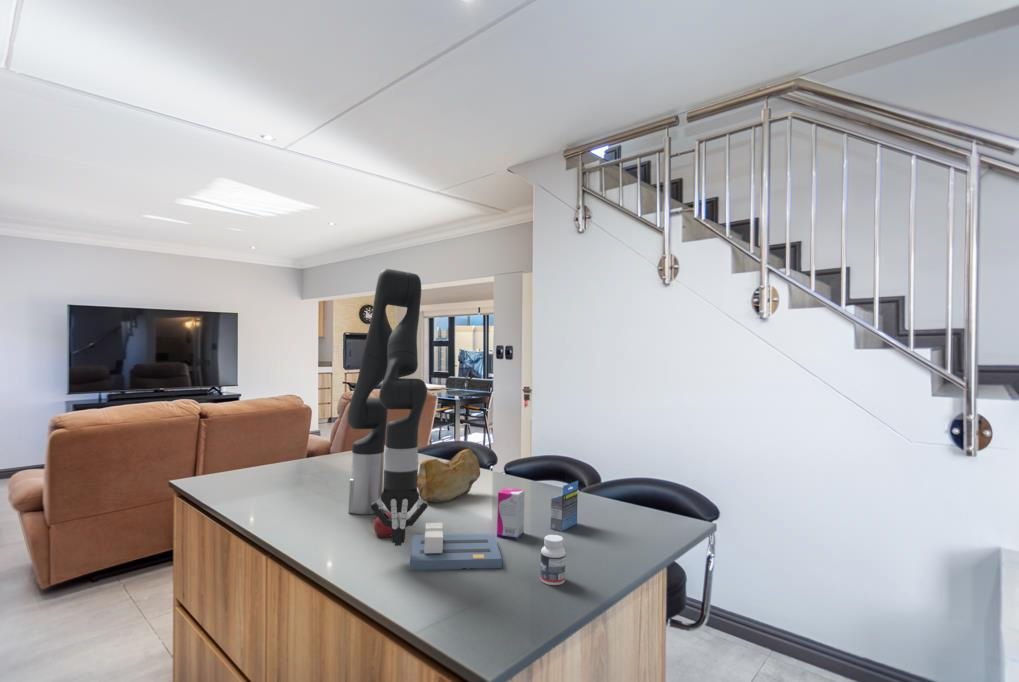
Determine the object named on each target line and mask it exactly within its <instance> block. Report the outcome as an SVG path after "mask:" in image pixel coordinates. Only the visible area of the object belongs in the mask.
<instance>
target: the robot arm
mask: <svg viewBox="0 0 1019 682" xmlns="http://www.w3.org/2000/svg"><path fill="white" fill-rule="evenodd" d="M375 288H376V289H375V293H374V300H373V306H372V311H371V319H370V323H369V327H368V330H367V331H368V332H367V335H366V338H365V344H364V346H363V352H362V355H361V361H360V367H359V372H358V376H357V380H356V384H355V387H354V390H353V393H352V396H351V400H350V403H349V406H348V410H347V423H348V426H349V427H350V428H351V429H355V430H371V431H370V433H368V434H367V435H366V436H364V437H363V438H360V439H357V440H355V441H354V442H353V443H352V448H351V449H352V450H351V452H352V453H351V473H350V474H351V475H350V479H349V487H348V488H349V489H348V491H349V492H348V511H347V513H348V514H356V515H372V514H373V515H376V517H378V518H379V519H380V520H381V522H382V523H383V524H384V525H385V526H386V527H387V526H388V527H391V528H392V536H391V543H392V544H394V546H395V547H398V546H399V547H401V546H403V545H402V544H404V543H405V540H406V529H407V528H408V527H412V526H413V525H414V524H416V522H417V520H419V518H420V517H421V516H422V515H423V513H424V512H425V511H426V510H427V508H428V501H425V500H423V499H421V498H420V495H419V490H418V487H417V480H418V474H419V451H418V440H419V439H418V437H419V425H420V420H421V416H422V412H423V410H424V407H425V404H426V400H427V397H428V387H427V385H426V383H425V382H424V380H423V379H421V378H404V377H408V376H411V375H413V374H415V373H416V372H417V370H418V366H419V364H418V362H419V361H418V359H419V358H418V327H419V320H420V311H421V310H420V309H421V299H422V298H421V297H422V280H421V278H420V276H419V275H418V274H416V273H413V272H407V271H402V270H396V269H391V268H383V269H382V270H381V271H380V273H379V275H378V278H377V283H376V287H375ZM387 306H393V307H401V308H406V313H405V315H404V316H403V318H402V319H401V320H400V322H399V323H398V324H397V325H396V327H395V328H394V329H392V327H391V324H390V321H389V319H388V315H387V310H386V309H387ZM380 384H381V386H380V390H379V393H378V396H379V397H369V396H370V395H371V393H372V392H373V391H374V390H375V388H377V387H378V386H379V385H380ZM388 410H410V411H409V412H408V414H407V416H404V417H403V418H398V419H393V420H390V421H389V422H388ZM387 422H388V423H387ZM415 505H416V509H415V511H414V512H413V513H412V514H411V516H410V517H409V518H408V517H407V515H408V513H409V512H410V511H411V510H412V509H413V507H414V506H415ZM384 506H385V507H386V509H387V511H389V513H391V517H392V520H391V519H390V518H389V517H388V516H387V514H386V513H387V512H385V510H384V509H383V508H384ZM399 513H400V523H399Z"/></svg>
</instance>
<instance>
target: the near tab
mask: <svg viewBox="0 0 1019 682" xmlns="http://www.w3.org/2000/svg"><path fill="white" fill-rule="evenodd" d="M424 535H425V548H424V553H442V550H443V535H444V530H443V531H424Z"/></svg>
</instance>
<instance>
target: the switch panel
mask: <svg viewBox="0 0 1019 682" xmlns="http://www.w3.org/2000/svg"><path fill="white" fill-rule="evenodd" d="M411 541H412V542H411V550H410V558H409V571H429V570H430V571H431V570H432V571H433V570H437V571H438V570H439V571H440V570H463V569H462V568H466V569H467V570H469V569H470V568H474V569H475V568H476V569H502V562H503V561H502V555H501V552H500V549H499V546H498V543H497V540H496V537H495V534H494V533H466V534H465V533H463V534H462V533H461V534H459V533H458V534H443V550H442V553H424V548H425V534H413V535H412V540H411ZM466 569H465V570H466ZM474 569H473V570H474Z"/></svg>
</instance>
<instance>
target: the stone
mask: <svg viewBox="0 0 1019 682" xmlns="http://www.w3.org/2000/svg"><path fill="white" fill-rule="evenodd" d="M480 475H481V467H480V463H479V459H478V457H477V456H476V454H475V453H474V452H473V450H472V449H470V448H465V449H462V450H461V451H459V452H458V453H456V454H455V455H454V456H453V457H452V458H451V459H450V460H449V461H446V462H443V461H440V460H439V459H438V458H430V459H425V460H423V461H421V462H420V465H419V468H418V480H417V491H418V493H419V497H420V498H421V499H422V500H423V501H427V502H429V501H430V502H429V503H438V502H447V501H451V500H453V499H454V498H456V497H459V496H464V495H463V494H466V495H467V494H468V493H470V491H471V489H472V487H473V484H474V483H475V482H477V480H478V479H479V478H480V477H481V476H480Z"/></svg>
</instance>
